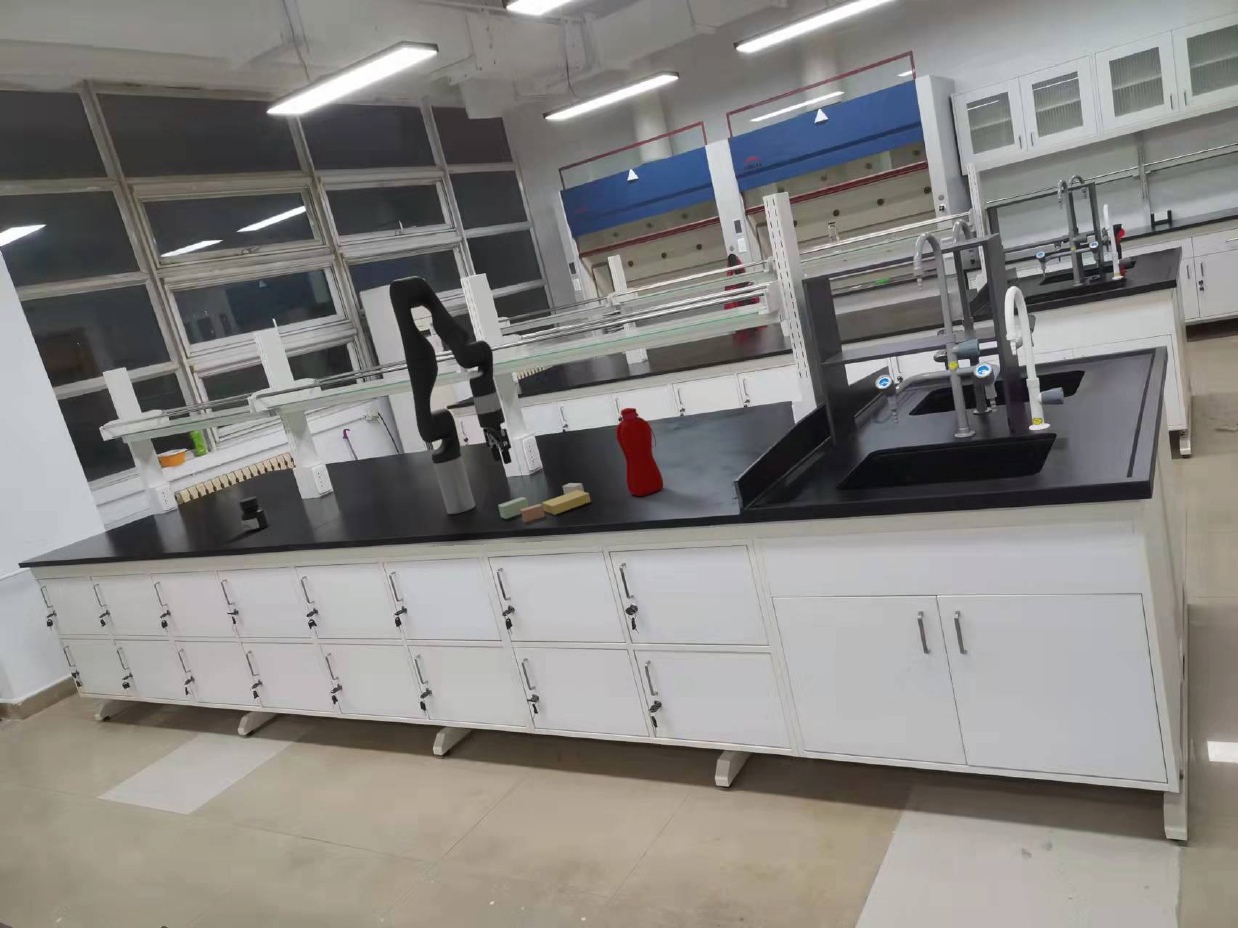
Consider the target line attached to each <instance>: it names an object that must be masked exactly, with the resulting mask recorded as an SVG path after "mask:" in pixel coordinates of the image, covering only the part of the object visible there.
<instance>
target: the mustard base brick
mask: <svg viewBox="0 0 1238 928" xmlns="http://www.w3.org/2000/svg"><path fill="white" fill-rule="evenodd" d="M591 502H592V500H591V496H590V493H589V492H585V491H584V492H582V491H579V490H576V491H573V492H571V493H568V494H563V495H560V496H556V497H555V498H551V499H548V500H546V501H542V502H541V505H542V508H543V512H546V513H548V514H551V515H554V516H555V515H557V514H561V513H563V512H566V511H568V510H572V509H574V508H577V507H580V506H582V505H585V503H586V504H588V503H591ZM571 508H572V509H571Z"/></svg>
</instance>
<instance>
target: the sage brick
mask: <svg viewBox="0 0 1238 928" xmlns="http://www.w3.org/2000/svg"><path fill="white" fill-rule="evenodd" d="M497 506H498V510H499V514H500V518H501V519H505V520H507V519H509V518H510V519H511V518H512V517H515V516H519V515H522V513H521V510H520V509H523V508H527V507H530V506H529V502H528V498H526V497H524V496H520V497H518V498H515V499H512V500H510V501H506V502H503V503H499V504H498V505H497Z"/></svg>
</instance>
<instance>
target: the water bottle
mask: <svg viewBox="0 0 1238 928" xmlns="http://www.w3.org/2000/svg"><path fill="white" fill-rule="evenodd" d="M620 412H621V414H620V415H619V416H621V418H622V420H621V421H620V422H619V423H618V425H617V426H616V428H615V430H616V433H615V434H616V440H617V443H618V445H619V447H620V450H621V451H622V453H623V456H624V459H625V461H626V466H625V467H626V485H627V489H628V491H629V493H630V495H633V496H637V497H645V496H649V495H651V494H653V493H657V492H659V491H661V490H662V489H663V488H664V481H663V480H664V479H663V475H662V473H661V471H660V469H659V466H658V465H657V462H656V460H655V458H654V455H653V450H652V449H653V448H655V447H656V446H657V439H656V437H655V434H654V432H653V430H652V428H651V426H650V424H649V423H648V421H646V420H645V419H644V418H642V417H641V416H639V413H637V412H638V411H637V408H635V407H634V408H633V407H627V408H626V407H625V408H623V409H621V410H620ZM653 438H654V442H655V443H654V446H653V441H652V439H653Z"/></svg>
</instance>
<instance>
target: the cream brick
mask: <svg viewBox="0 0 1238 928" xmlns="http://www.w3.org/2000/svg"><path fill="white" fill-rule="evenodd" d="M562 490H563V495H565V494H568V493H571V492H573V491H576V490H579V491H582V492H585V490H584V486H583V483H579V482H576V483H575V482H574V483H573V482H568V483H567V484H564V485H562Z"/></svg>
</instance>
